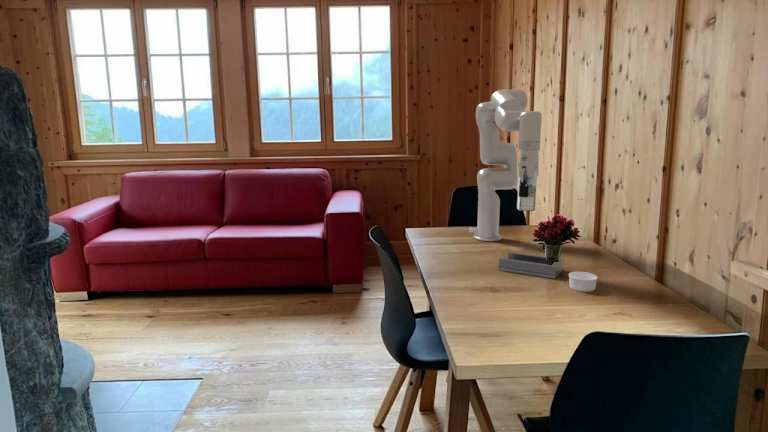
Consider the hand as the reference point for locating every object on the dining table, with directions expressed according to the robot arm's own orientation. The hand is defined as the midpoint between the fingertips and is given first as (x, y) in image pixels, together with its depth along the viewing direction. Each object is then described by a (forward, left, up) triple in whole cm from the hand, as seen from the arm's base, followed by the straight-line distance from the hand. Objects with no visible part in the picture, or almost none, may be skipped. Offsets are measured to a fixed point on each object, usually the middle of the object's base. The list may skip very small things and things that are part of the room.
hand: (526, 195), depth 197 cm
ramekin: (+24, -15, -27) cm, 39 cm away
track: (+4, -4, -26) cm, 27 cm away
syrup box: (0, 0, -6) cm, 6 cm away
